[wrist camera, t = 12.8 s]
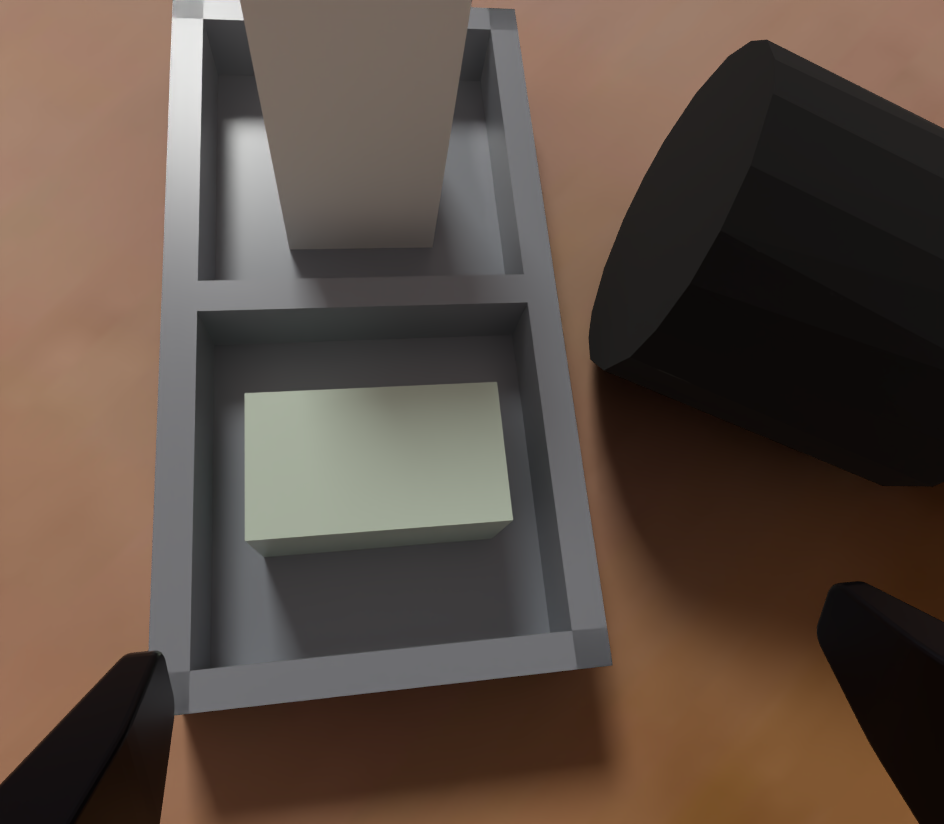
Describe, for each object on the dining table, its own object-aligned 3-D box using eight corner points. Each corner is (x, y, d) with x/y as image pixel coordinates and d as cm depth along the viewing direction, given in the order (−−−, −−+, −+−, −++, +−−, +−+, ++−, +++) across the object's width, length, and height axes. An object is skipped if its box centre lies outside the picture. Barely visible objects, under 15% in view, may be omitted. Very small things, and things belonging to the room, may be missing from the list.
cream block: (432, 247, 25) (483, -72, 14) (289, 249, 25) (222, -87, 13) (421, 131, 27) (459, -240, 16) (286, 130, 26) (224, -263, 15)
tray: (576, 662, 23) (625, 666, 18) (181, 707, 21) (133, 722, 16) (498, 80, 29) (519, -15, 25) (196, 72, 28) (165, -32, 23)
